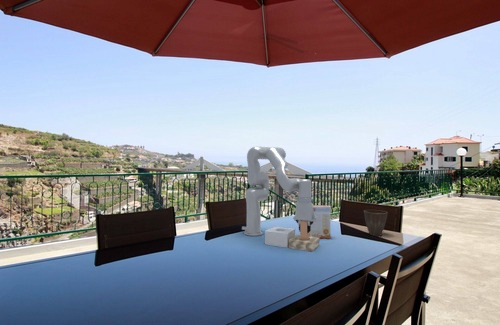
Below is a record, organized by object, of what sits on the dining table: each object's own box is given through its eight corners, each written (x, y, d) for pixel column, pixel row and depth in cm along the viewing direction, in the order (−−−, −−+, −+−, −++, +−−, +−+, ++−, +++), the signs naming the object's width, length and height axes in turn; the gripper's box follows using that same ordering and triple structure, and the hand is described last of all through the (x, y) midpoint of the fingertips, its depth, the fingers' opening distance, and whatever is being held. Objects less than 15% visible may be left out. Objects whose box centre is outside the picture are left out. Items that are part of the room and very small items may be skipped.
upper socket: (265, 244, 173) (265, 230, 173) (274, 239, 185) (274, 226, 185) (287, 247, 166) (287, 233, 166) (295, 242, 179) (295, 229, 179)
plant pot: (388, 234, 201) (388, 210, 201) (385, 238, 189) (385, 213, 189) (366, 231, 209) (366, 209, 209) (361, 235, 197) (361, 211, 197)
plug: (300, 241, 168) (300, 221, 168) (302, 240, 171) (302, 219, 172) (307, 242, 166) (307, 221, 166) (309, 241, 170) (309, 220, 170)
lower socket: (288, 247, 166) (288, 240, 166) (296, 242, 178) (296, 234, 178) (312, 251, 159) (313, 243, 159) (319, 245, 172) (319, 237, 172)
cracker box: (329, 236, 192) (329, 205, 192) (330, 239, 186) (330, 206, 186) (307, 236, 194) (307, 204, 194) (308, 238, 188) (308, 206, 188)
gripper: (288, 200, 170) (288, 231, 169) (317, 201, 162) (317, 234, 162) (293, 198, 176) (293, 229, 176) (320, 200, 168) (320, 232, 168)
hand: (304, 231), depth 169 cm, fingers closed on plug, 4 cm apart
